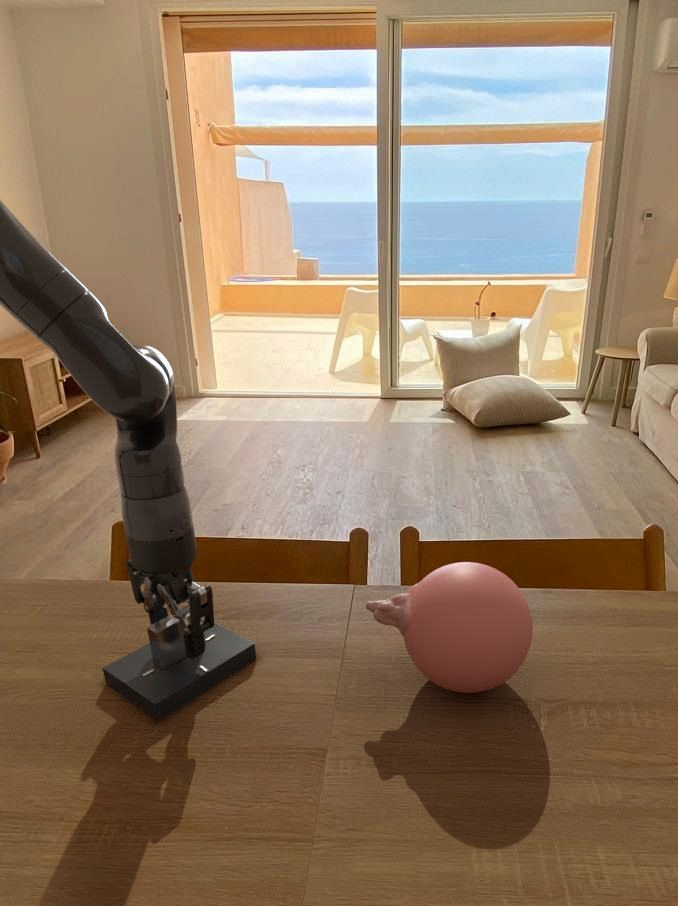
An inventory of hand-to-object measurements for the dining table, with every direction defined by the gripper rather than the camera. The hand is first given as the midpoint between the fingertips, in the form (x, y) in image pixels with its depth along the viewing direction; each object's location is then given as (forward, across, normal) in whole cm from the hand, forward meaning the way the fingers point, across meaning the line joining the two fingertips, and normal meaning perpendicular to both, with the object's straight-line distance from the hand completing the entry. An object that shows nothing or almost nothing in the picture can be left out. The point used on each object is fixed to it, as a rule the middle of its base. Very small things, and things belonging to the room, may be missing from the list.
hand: (178, 644), depth 87 cm
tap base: (+4, 0, 0) cm, 4 cm away
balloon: (+4, +27, +20) cm, 34 cm away
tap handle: (+2, 0, 0) cm, 2 cm away
